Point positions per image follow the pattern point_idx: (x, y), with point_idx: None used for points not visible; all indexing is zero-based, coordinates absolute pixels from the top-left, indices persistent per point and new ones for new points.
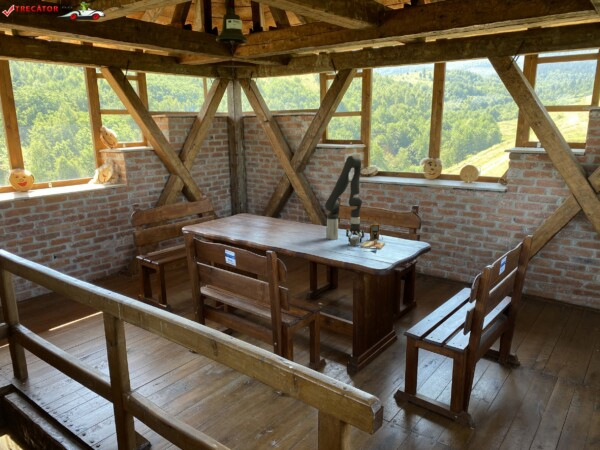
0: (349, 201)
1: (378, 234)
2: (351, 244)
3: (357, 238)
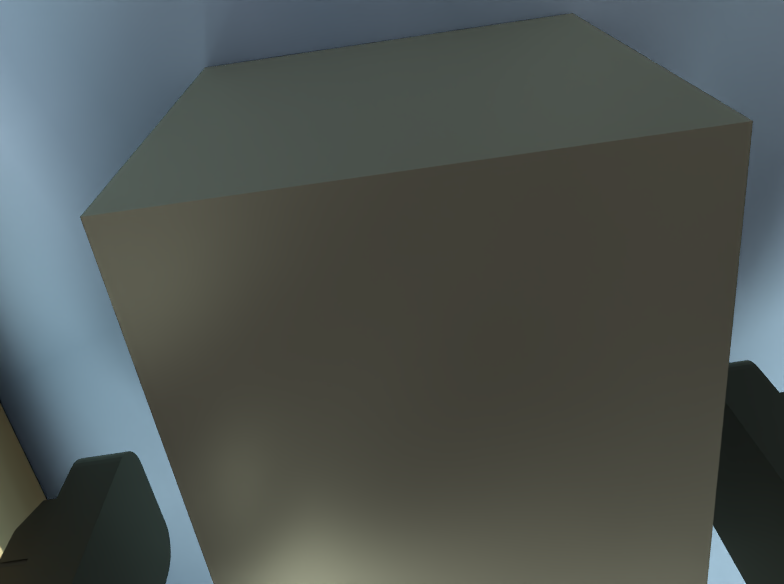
0: None
1: None
2: (468, 43)
3: None
